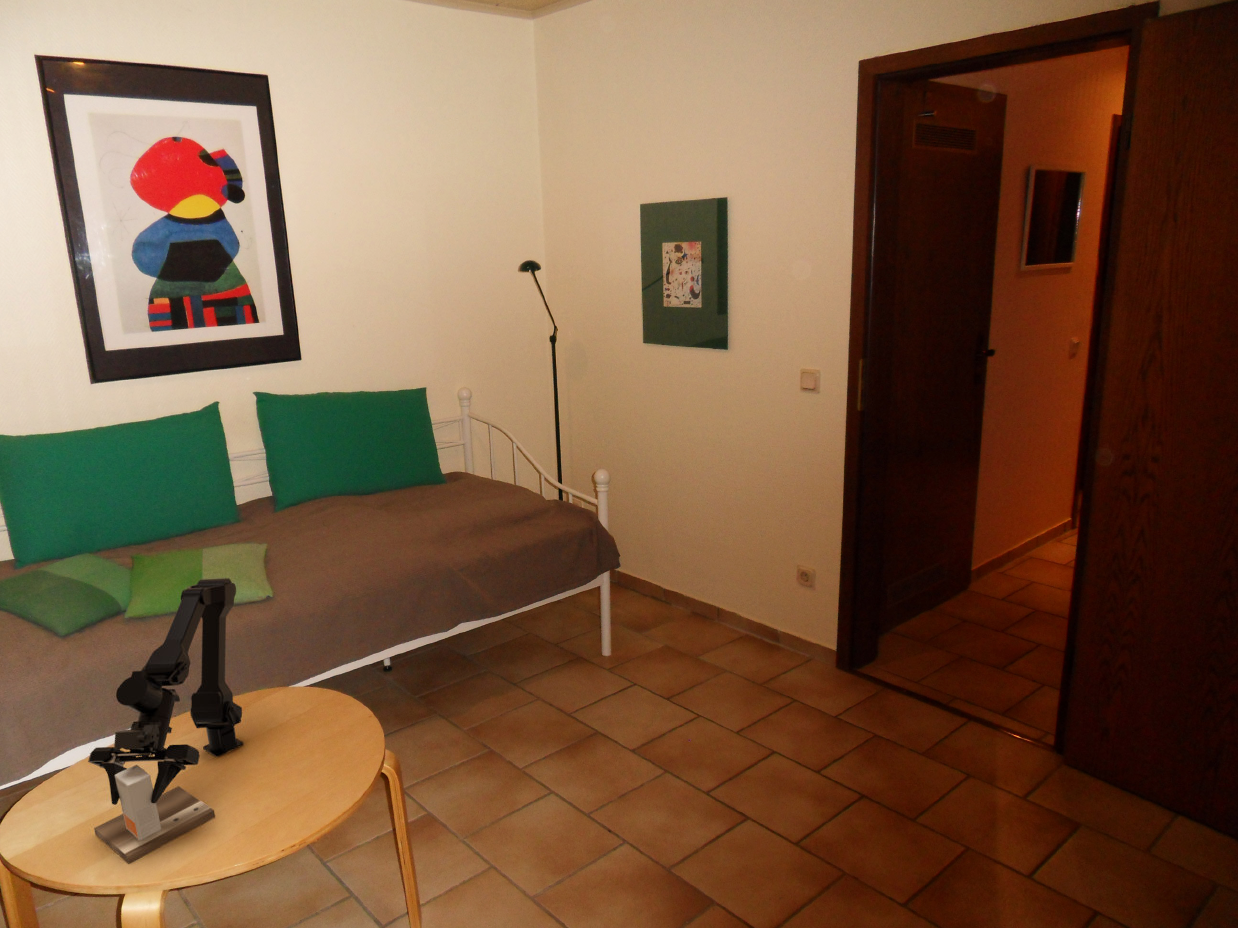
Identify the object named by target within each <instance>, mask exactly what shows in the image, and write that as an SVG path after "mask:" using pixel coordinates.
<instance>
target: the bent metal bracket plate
mask: <svg viewBox="0 0 1238 928" xmlns="http://www.w3.org/2000/svg"><path fill="white" fill-rule="evenodd" d="M156 805H157V810H158V815H159V819H160V824H161V830H159V831H157V832H155V833H153V834H151V835H149V836H148V837H146V838H144V839H142V840H138V839H137V838H136V837H135V836H134V835H133V834H132V833H131V832H130V831H129V830H128V829H126V825H125V820H124V816H123V813H121V814H120V815H118V816H116V817H114V818H112V819H109V820H108V821H105V822H103V823H102V824H99V825H97V826H96V827H94V828H93V829H94V834H95V836H96V837H97V838H99V840H100V841H102V842H103V843H104V844H105V845H107V846H108V847H109V848H110V849H111V850H113V851H114V852H115V853H116V854H117V855H119V857H121V858H122V859H123V860H124V861H125V862H126V863H127V864H131V863H132V862H135V861H137V860H139V859H141V858H142V857H144V856H146V855H148V854H149V853H151V852H153V851H155V850H156V849H159V848H160V847H162V846H164V845H167V844H168V843H170V842H172V841H173V840H175V839H177V838H179V837H181V836H182V835H185V834H187V833H188V832H190V831H192V830H194V829H196V828H198V827H199V826H202V825H203V824H205V823H207V822H208V821H210V820H213V819H214V818H215V817H216V814H215V809H213V808H212V807H210V806H209V805H207V804H206V803H205V802H203V801H202V800H200V799H199V798H197V797H195V796H194V795H193V794H191V793H190V792H188V791H187V790H185V789H184V788H182V787H181V786H179V785H178V786H176V787H173V788H171V789H170V790H168V791H166V792H165V791H164V792H163V794H162V795H161V796H160V798H159V799H158V801H157V802H156Z"/></svg>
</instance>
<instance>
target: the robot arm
mask: <svg viewBox="0 0 1238 928" xmlns="http://www.w3.org/2000/svg"><path fill="white" fill-rule="evenodd" d="M236 594H237V586H236V584H235V583H233V582H232V580H231V579H230V578H227V577H226V578H202V579H200V580H198V581H197V584H193V585H190V586H187V588H186V589H183V590H182V592H181V594H180V603H179V606H178V607H177V610H176V611H175V612H176V613H175V615H174V618H173V620H172V623H171V624H170V627H169V629H168V631H167V634H166V636H165V639H164V641H163V642H162V644H161V645H160V646H159V647H157V648H156V649H155V650H154V651H153V652H151V654H150V656H149V658H148V660H147V661H146V663H145V665H144V666H143V667H142V668H141V670H133V671H132V672H131V675H130V677H127V678H126V679H124V681H122V683H120V685H119V686H118V688H117V689H116V692H115V697H116V700H117V702H118V703H119V704H120V705H122V706H124V707H125V708H129V709H130V710H132V711H133V712H136V713H138V718H137V721H133V722H132V724H131V726H130V728H129V729H123V730H119V731H118V730H117V731H115V733H114V745H113V746H104V747H94V749H92V751H91V752H90V753H89V757H88V761H87V763H89V764H92V765H94V766H97V767H99V768H101V769H104V770H105V772H106V774H107V777H108V781H109V783H108V784H109V791H110V800H111V804H112V805H113V806H116V805H118V802H119V801H120V798H119V793H118V788H117V784H116V779H115V775H116V774H118V773H120V772H122V771H124V770H126V769H128V768H127V767H124V765H125V764H126V763H130V762H131V763H133V762H157V775H156V778H155V782H154V787H153V793H152V799H151V803H156V802H157V801H158V799H159V798H160V796H161V795H162V794H163V793H165V791H166V790H167V788H168V787H169V785H170V784H171V783H172V781H174V779H175V778H176V777H177V776H178V775H179V773H180V772H181V771H185V770H186V768H187V766H197V765H198V764H199V761H200V756H201V755H200V751H199V750H198V748H195V747H193V746H191V744H187V743H185V744H170V745H169V746H168V747H165V745H166V741H167V740H166V739H167V735H168V734H172V730H173V727H171V726H170V724H171V719H172V714H173V711H174V706H175V703H179V702H180V700H181V699H180V695H178V693H177V692H176V689H175V688H169V689H168V688H166V687H175V686H180V685H183V684H184V682H185V681H186V679H187V678H188V677H189V673H190V666H191V659H190V656H189V650H190V648H191V645H192V641H193V640H194V637H195V634H196V631H197V628H198V626H199V625H200V621H201V619H202V623H201V628H202V629H201V670H200V672H201V674H200V677H201V678H200V680H201V681H200V685H199V687H198V689H196V692H192V694H191V697H190V698H191V699H190V700H191V706H190V712H189V713H190V718H191V720H192V722H193V724H194V726H195V727H196V729H205V728H206V729H205V730H206V734H207V735H206V736H207V742H208V744H205V745H204V746H202V748H203V749H202V750H204V751H205V752H208V753H209V754H211V755H212V756H213V757H216V758H218V757H221V756H224V755H225V754H227V753H229V752H233V750H236V749H238V748H240V747H242V746H243V745H244V742H243V741H242V740H241V739H239V738H237V736H236V730H235V726H236V725H238V724H240V723H241V722H242V717H243V708H242V706H240V705H239V704H237V703H236V702H235V701H234V697H233V691H232V690H231V688H230V687H229V685H228V684H227V682H226V634H227V633H226V631H227V630H226V629H227V617H228V615H229V613H230V611H232V608H233V607H234V606H235V605H234V604H235V597H236ZM122 749H123V750H126V751H123V750H122ZM127 750H128V751H127Z"/></svg>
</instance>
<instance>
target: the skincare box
mask: <svg viewBox="0 0 1238 928" xmlns="http://www.w3.org/2000/svg"><path fill="white" fill-rule="evenodd" d="M151 777H152V776H151V775H150V774H149V773H148V772H147V771H146V770H145V769H143V768H141V766H139V765H137V764H135V765H133V766H131V767H128V768H127V769H126V770H124V771H122V772H120V773H118V774H116V775H115V779H116V784H117V788H118V793H119V802H120V807H121V811H122V814H123V816H124V820H125V825H126V829H128V830H129V831H130V832H131V833H132V834H133V835H134V836H135V837H136V838H137V839H138V840H142V839H144V838H146V837H148V836H149V835H151V834H153V833H155V832H157V831H159V830H161V824H160V819H159V815H158V810H157V805H156V803H151V799H152V793H153V789H154V787H153V782H152V779H151Z"/></svg>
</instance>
